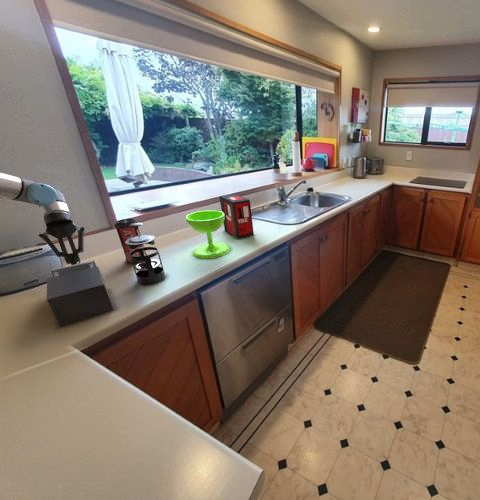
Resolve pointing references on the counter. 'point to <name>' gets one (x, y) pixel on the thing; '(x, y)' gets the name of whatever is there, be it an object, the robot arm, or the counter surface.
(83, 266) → the drawer
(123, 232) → the red canister
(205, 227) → the wineglass
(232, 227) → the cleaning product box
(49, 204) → the robot arm
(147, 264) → the french press
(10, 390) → the counter surface
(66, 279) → the cabinet
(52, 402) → the counter surface
